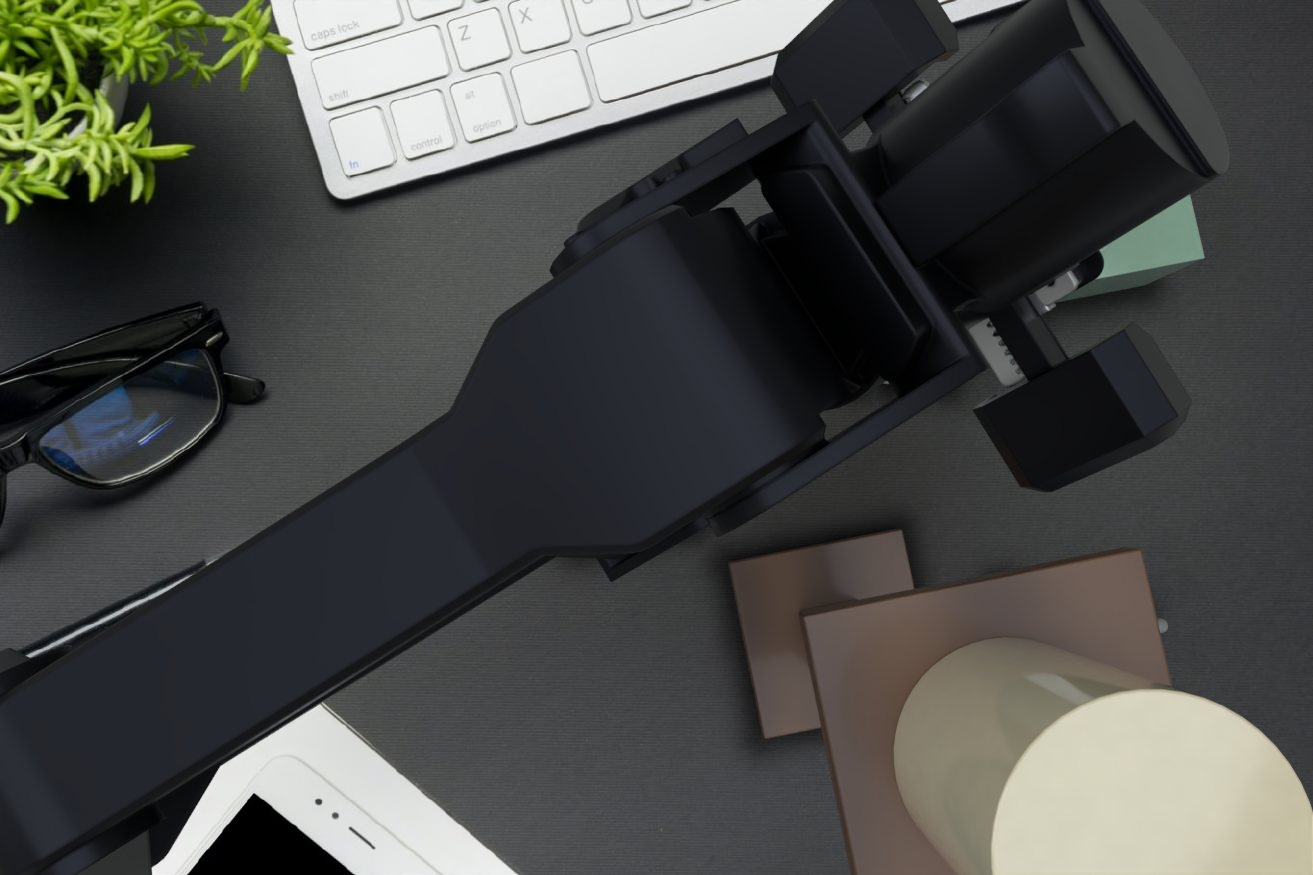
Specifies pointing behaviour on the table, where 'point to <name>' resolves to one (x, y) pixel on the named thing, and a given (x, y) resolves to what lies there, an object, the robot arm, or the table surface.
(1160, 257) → the green rectangular block
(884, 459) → the table surface
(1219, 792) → the cream cylinder
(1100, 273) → the robot arm
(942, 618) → the stand
